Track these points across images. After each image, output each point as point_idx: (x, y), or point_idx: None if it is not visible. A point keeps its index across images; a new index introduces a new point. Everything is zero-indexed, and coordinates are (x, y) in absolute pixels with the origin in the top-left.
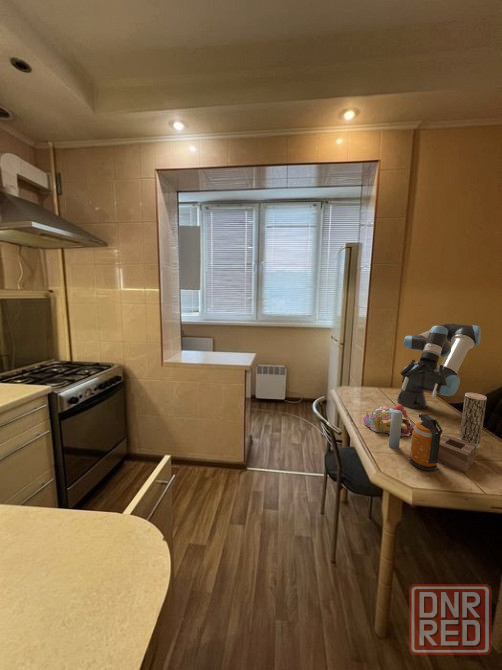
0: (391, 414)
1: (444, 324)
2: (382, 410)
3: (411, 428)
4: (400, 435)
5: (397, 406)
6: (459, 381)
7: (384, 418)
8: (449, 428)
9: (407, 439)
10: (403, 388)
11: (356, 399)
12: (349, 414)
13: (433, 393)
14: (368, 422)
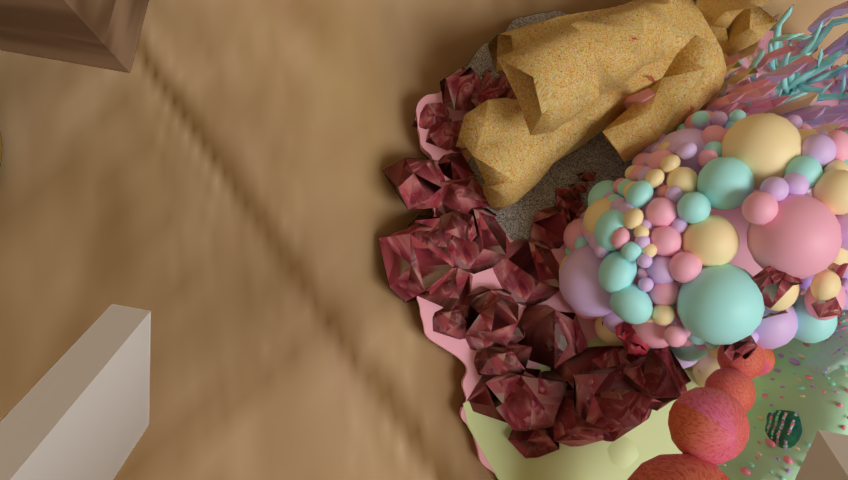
0: (679, 169)
1: None
2: (803, 142)
3: (431, 241)
4: (484, 49)
5: (709, 472)
6: None
7: (715, 112)
8: None
9: (417, 53)
10: (811, 468)
11: None
12: None
13: (92, 346)
14: (817, 19)
